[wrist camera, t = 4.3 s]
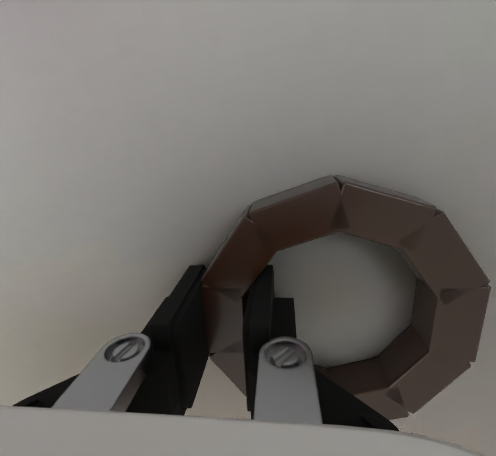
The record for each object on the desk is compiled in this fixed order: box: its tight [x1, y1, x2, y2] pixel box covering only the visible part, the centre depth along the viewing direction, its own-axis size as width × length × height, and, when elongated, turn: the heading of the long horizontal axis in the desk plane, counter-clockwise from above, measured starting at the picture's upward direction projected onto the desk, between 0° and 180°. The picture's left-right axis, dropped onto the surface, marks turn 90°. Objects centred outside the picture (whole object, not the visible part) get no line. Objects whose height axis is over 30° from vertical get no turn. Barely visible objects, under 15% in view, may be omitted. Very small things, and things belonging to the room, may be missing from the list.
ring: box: [201, 175, 491, 420], centre depth 11 cm, size 9×10×2 cm
